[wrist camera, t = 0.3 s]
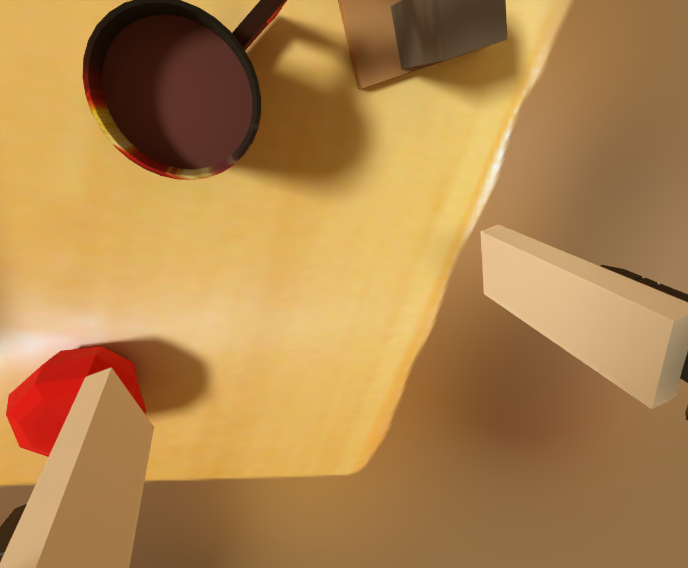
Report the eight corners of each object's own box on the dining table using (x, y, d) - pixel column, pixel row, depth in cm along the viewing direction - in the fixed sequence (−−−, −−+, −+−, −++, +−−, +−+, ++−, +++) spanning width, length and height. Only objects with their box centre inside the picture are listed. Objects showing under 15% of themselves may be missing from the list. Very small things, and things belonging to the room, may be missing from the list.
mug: (274, 15, 32) (304, -29, 22) (230, 173, 36) (238, 199, 26) (149, -52, 28) (113, -146, 18) (116, 134, 32) (70, 147, 22)
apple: (6, 362, 37) (-57, 440, 28) (111, 315, 38) (82, 376, 29) (79, 429, 42) (44, 512, 33) (169, 385, 43) (159, 455, 35)
